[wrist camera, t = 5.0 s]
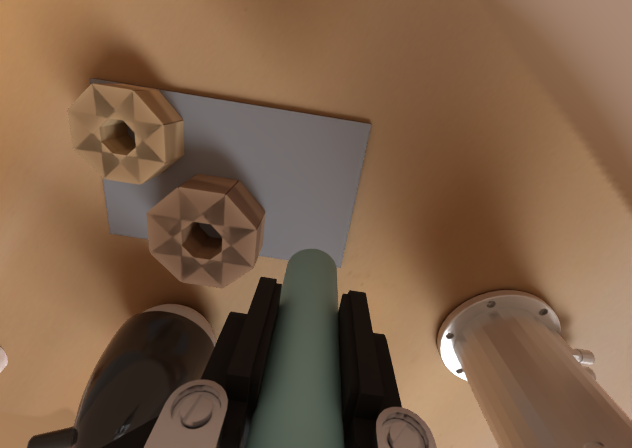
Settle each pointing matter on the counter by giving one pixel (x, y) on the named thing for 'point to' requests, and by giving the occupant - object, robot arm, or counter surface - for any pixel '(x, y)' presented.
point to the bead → (192, 241)
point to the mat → (258, 171)
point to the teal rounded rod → (302, 362)
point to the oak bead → (126, 131)
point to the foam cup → (2, 359)
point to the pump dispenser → (137, 376)
